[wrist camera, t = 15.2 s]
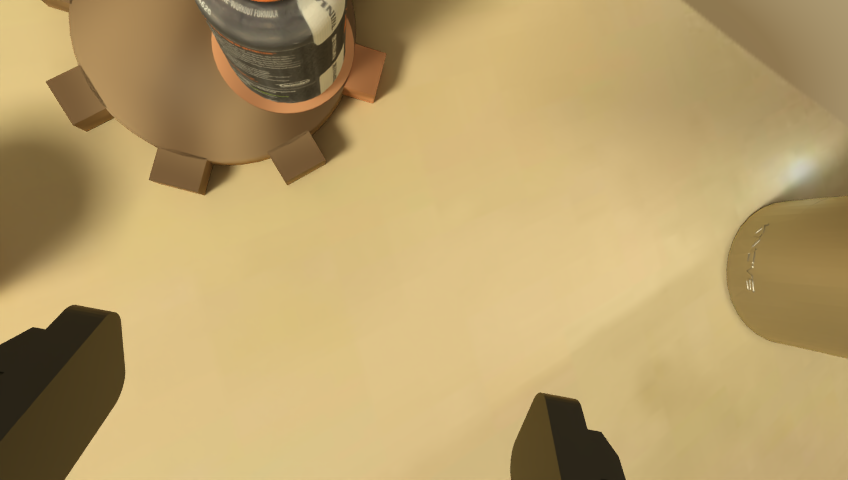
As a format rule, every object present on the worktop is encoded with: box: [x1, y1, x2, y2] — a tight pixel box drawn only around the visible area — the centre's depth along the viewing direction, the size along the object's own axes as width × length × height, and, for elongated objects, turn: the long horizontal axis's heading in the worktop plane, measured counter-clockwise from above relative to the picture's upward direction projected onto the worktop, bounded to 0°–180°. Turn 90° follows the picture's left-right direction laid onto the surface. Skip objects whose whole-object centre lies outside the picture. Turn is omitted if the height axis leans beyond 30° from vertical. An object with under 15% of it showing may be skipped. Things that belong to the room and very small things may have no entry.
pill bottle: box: [195, 0, 347, 103], centre depth 23 cm, size 6×6×11 cm
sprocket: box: [42, 0, 386, 195], centre depth 29 cm, size 17×17×2 cm
